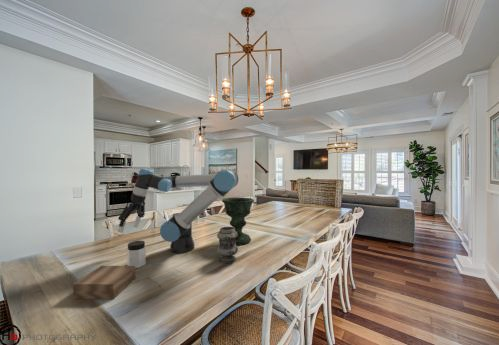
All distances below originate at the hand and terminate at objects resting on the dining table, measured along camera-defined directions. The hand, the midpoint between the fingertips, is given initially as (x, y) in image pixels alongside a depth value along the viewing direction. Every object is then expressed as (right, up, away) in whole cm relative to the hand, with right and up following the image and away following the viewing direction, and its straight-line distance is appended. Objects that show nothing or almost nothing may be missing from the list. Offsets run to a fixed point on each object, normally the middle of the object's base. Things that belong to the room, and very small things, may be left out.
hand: (128, 229), depth 125 cm
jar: (+10, -17, -10) cm, 22 cm away
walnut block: (+9, -17, -32) cm, 37 cm away
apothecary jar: (+58, -17, -2) cm, 61 cm away
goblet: (+62, -16, +28) cm, 71 cm away
